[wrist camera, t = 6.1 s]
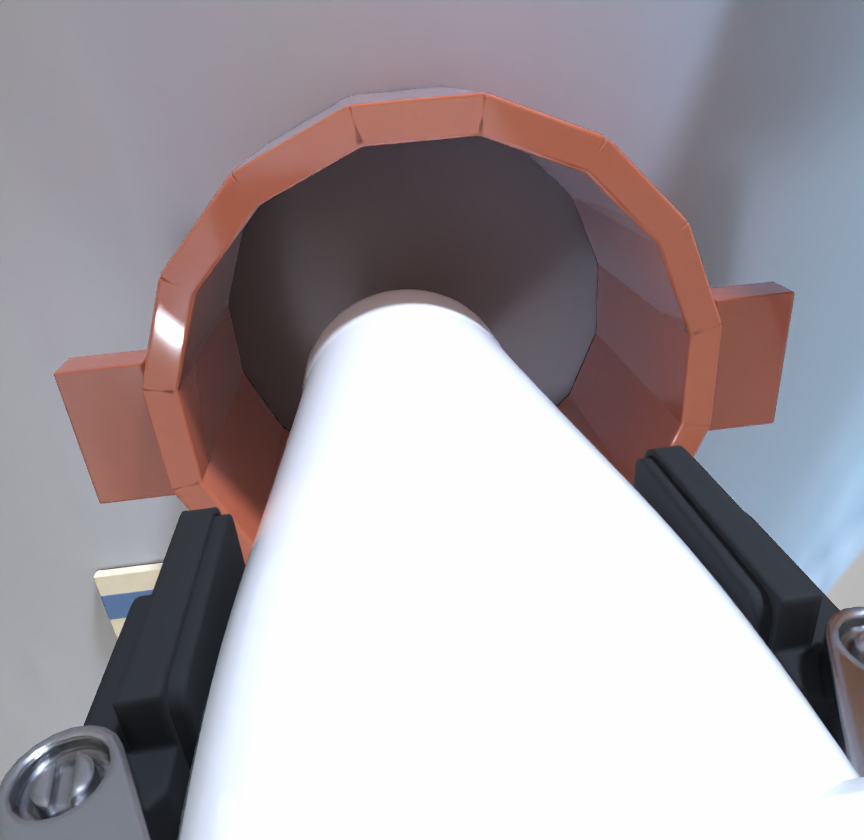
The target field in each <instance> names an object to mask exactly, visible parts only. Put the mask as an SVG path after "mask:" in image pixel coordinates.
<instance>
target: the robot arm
mask: <svg viewBox="0 0 864 840" xmlns="http://www.w3.org/2000/svg"><path fill="white" fill-rule="evenodd" d="M634 488H635V489H636V490H637V491H638V492H639V493H640V494H641V495H642V496H643V497H644V499H645V500H646V501H647V502H648V503H649V504H650V505H651V506H652V507H653V508H654V509H655V510H656V511H657V512H658V514H659V515H660V516H661V517H662V518H663V519H664V520H665V521H666V522H667V523H668V524H669V525H670V526H671V528H672V529H673V530H674V531H675V532H676V533H677V534H678V536H679V537H680V538H681V539H682V540H683V541H684V542H685V544H686V545H687V546H688V547H689V548H690V549H691V550H692V551H693V553H694V554H695V555H696V556H697V557H698V559H699V560H700V561H701V562H702V563H703V565H704V566H705V567H706V568H707V569H708V571H709V572H710V573H711V574H712V575H713V577H714V578H715V579H716V580H717V581H718V583H719V584H720V585H721V586H722V588H723V589H724V590H725V591H726V593H727V594H728V595H729V596H730V598H731V599H732V600H733V602H734V603H735V604H736V605H737V607H738V608H739V609H740V610H741V612H742V613H743V614H744V616H745V617H746V618H747V619H748V621H749V622H750V623H751V625H752V626H753V627H754V629H755V630H756V631H757V633H758V634H759V635H760V637H761V638H762V639H763V641H764V642H765V643H766V645H767V646H768V647H769V649H770V650H771V651H772V653H773V654H774V655H775V657H776V658H777V659H778V661H779V662H780V663H781V665H782V666H783V667H784V669H785V670H786V672H787V673H788V674H789V676H790V677H791V679H792V680H793V681H794V683H795V684H796V685H797V687H798V688H799V690H800V691H801V692H802V694H803V695H804V697H805V698H806V699H807V701H808V702H809V704H810V705H811V706H812V708H813V709H814V711H815V712H816V714H817V715H818V716H819V718H820V719H821V721H822V722H823V724H824V725H825V726H826V728H827V729H828V731H829V732H830V734H831V735H832V736H833V738H834V739H835V741H836V742H837V744H838V745H839V747H840V748H841V749H842V751H843V752H844V754H845V755H846V757H847V758H848V759H849V761H850V762H851V764H852V765H853V767H854V768H855V770H856V771H857V773H858V774H859V776H860V777H861V778H854V779H848V780H844V781H842V782H840V783H839V784H837V785H836V786H834V787H833V788H831V789H829V790H828V791H826V792H825V793H824V794H822V795H821V796H820V797H818V798H817V799H816V802H817V803H818V805H819V807H820V808H821V810H822V812H823V813H824V815H825V817H826V818H827V820H828V821H829V823H830V824H831V825H832V827H833V828H834V830H835V832H836V834H837V837H838V840H864V607H853V608H847V609H843V610H841V611H840V610H839V609H838V608H837V607H836V606H835V605H834V604H833V603H832V602H831V601H830V600H829V599H828V598H827V596H826V595H825V594H824V593H823V592H822V591H821V590H820V589H819V588H818V587H817V586H816V585H815V584H814V583H813V582H812V581H811V579H810V578H809V577H808V576H807V575H806V574H805V573H804V572H803V571H802V570H801V569H800V568H799V567H798V566H797V565H796V564H795V563H794V561H793V560H792V559H791V558H790V557H789V556H788V555H787V554H786V553H785V552H784V551H783V550H782V549H781V548H780V547H779V546H778V545H777V543H776V542H775V541H774V540H773V539H772V538H771V537H770V536H769V535H768V534H767V533H766V532H765V531H764V530H763V529H762V528H761V527H760V525H759V524H758V523H757V522H756V521H755V520H754V519H753V518H752V517H751V516H749V515H748V514H747V513H745V512H744V511H743V510H742V509H741V508H740V507H739V506H738V505H737V504H736V502H735V501H734V500H733V499H732V498H731V497H730V496H729V495H728V494H727V493H726V492H725V491H724V490H723V489H722V488H721V487H720V485H719V484H718V483H717V482H716V481H715V480H714V479H713V478H712V477H711V476H710V475H709V474H708V473H707V472H706V471H705V469H704V468H703V467H702V466H701V465H700V464H699V463H698V462H697V461H696V460H695V459H694V458H693V457H692V456H691V455H690V453H689V452H688V451H687V450H686V449H685V448H684V447H682V446H680V445H677V446H669V447H662V448H654V449H648V450H647V451H646V453H645V455H644V458H641V459H638V460H637V461H636V464H635V475H634ZM244 569H245V562H244V558H243V554H242V551H241V547H240V543H239V539H238V535H237V531H236V527H235V523H234V520H233V517H232V515H231V514H224V515H221V512H220V510H219V508H217V507H212V508H205V509H198V510H190V511H184V512H182V513H181V515H180V517H179V520H178V523H177V526H176V528H175V531H174V534H173V537H172V539H171V542H170V545H169V548H168V550H167V553H166V556H165V559H164V561H163V564H162V567H161V570H160V572H159V575H158V578H157V581H156V583H155V586H154V589H153V592H152V594H151V595H144V596H139V597H137V598H136V599H135V600H134V601H133V603H132V605H131V607H130V609H129V612H128V614H127V617H126V619H125V622H124V625H123V627H122V630H121V632H120V635H119V637H118V640H117V642H116V645H115V647H114V650H113V652H112V655H111V657H110V660H109V663H108V665H107V668H106V670H105V673H104V675H103V678H102V680H101V683H100V685H99V688H98V690H97V693H96V695H95V698H94V701H93V703H92V706H91V708H90V711H89V713H88V716H87V718H86V721H85V723H84V726H80V727H73V728H70V729H67V730H65V731H62V732H59V733H56V734H54V735H52V736H50V737H49V738H47V739H45V740H43V741H42V742H40V743H38V744H37V745H35V746H34V747H33V748H31V749H30V750H29V751H28V752H27V753H25V754H24V755H23V756H22V757H21V758H19V759H18V760H17V762H16V763H15V764H14V765H13V767H12V768H11V769H10V770H9V771H8V773H7V774H6V775H5V777H4V779H3V781H2V783H1V785H0V840H177V837H178V831H179V826H180V821H181V815H182V810H183V804H184V800H185V795H186V790H187V785H188V780H189V775H190V770H191V765H192V760H193V756H194V751H195V747H196V742H197V738H198V734H199V729H200V725H201V720H202V716H203V711H204V707H205V704H206V700H207V696H208V692H209V688H210V684H211V680H212V676H213V672H214V668H215V665H216V661H217V658H218V654H219V651H220V647H221V644H222V640H223V637H224V633H225V630H226V627H227V623H228V620H229V617H230V613H231V610H232V607H233V604H234V601H235V598H236V594H237V591H238V588H239V585H240V582H241V579H242V575H243V572H244Z"/></svg>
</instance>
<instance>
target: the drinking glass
mask: <svg viewBox="0 0 864 840" xmlns="http://www.w3.org/2000/svg"><path fill="white" fill-rule="evenodd" d="M854 778H861V777H860V776H859V774H858V773H857V771H856V770H855V768H854V767H853V765H852V764H851V762H850V761H849V759H848V758H847V757H846V755H845V754H844V752H843V751H842V749H841V748H840V747H839V745H838V744H837V742H836V741H835V739H834V738H833V736H832V735H831V734H830V732H829V731H828V729H827V728H826V726H825V725H824V724H823V722H822V721H821V719H820V718H819V716H818V715H817V714H816V712H815V711H814V709H813V708H812V706H811V705H810V704H809V702H808V701H807V699H806V698H805V697H804V695H803V694H802V692H801V691H800V690H799V688H798V687H797V685H796V684H795V683H794V681H793V680H792V679H791V677H790V676H789V674H788V673H787V672H786V670H785V669H784V667H783V666H782V665H781V663H780V662H779V661H778V659H777V658H776V657H775V655H774V654H773V653H772V651H771V650H770V649H769V647H768V646H767V645H766V643H765V642H764V641H763V639H762V638H761V637H760V635H759V634H758V633H757V631H756V630H755V629H754V627H753V626H752V625H751V623H750V622H749V621H748V619H747V618H746V617H745V616H744V614H743V613H742V612H741V610H740V609H739V608H738V607H737V605H736V604H735V603H734V602H733V600H732V599H731V598H730V596H729V595H728V594H727V593H726V591H725V590H724V589H723V588H722V586H721V585H720V584H719V583H718V581H717V580H716V579H715V578H714V577H713V575H712V574H711V573H710V572H709V571H708V569H707V568H706V567H705V566H704V565H703V563H702V562H701V561H700V560H699V559H698V557H697V556H696V555H695V554H694V553H693V551H692V550H691V549H690V548H689V547H688V546H687V545H686V544H685V542H684V541H683V540H682V539H681V538H680V537H679V536H678V534H677V533H676V532H675V531H674V530H673V529H672V528H671V526H670V525H669V524H668V523H667V522H666V521H665V520H664V519H663V518H662V517H661V516H660V515H659V514H658V512H657V511H656V510H655V509H654V508H653V507H652V506H651V505H650V504H649V503H648V502H647V501H646V500H645V499H644V497H643V496H642V495H641V494H640V493H639V492H638V491H637V490H636V489H635V488H634V487H633V486H632V485H631V484H630V482H629V481H628V480H627V479H626V478H625V477H624V476H623V475H622V474H621V473H620V472H619V471H618V470H617V469H616V468H615V467H614V466H613V465H612V464H611V463H610V462H609V461H608V460H607V458H606V457H605V456H604V455H603V454H602V453H601V452H600V451H599V450H598V449H597V448H596V447H595V446H594V445H593V444H592V443H591V442H590V441H589V440H588V439H587V438H586V437H585V436H584V435H583V434H582V433H581V431H580V430H579V429H578V428H577V427H576V426H575V425H574V424H573V423H572V422H571V421H570V420H569V419H568V418H567V417H566V416H565V415H564V414H563V413H562V412H561V411H560V410H559V409H558V408H557V407H556V405H555V404H554V403H553V402H552V401H551V400H550V399H549V398H548V397H547V396H546V395H545V394H544V393H543V392H542V391H541V390H540V389H539V388H538V387H537V385H536V384H535V383H534V382H533V381H532V380H531V379H530V378H529V377H528V376H527V375H526V374H525V373H524V372H523V371H522V370H521V368H520V367H519V366H518V365H517V364H516V363H515V362H514V361H513V360H512V359H511V358H510V356H509V355H508V354H507V353H506V352H505V351H504V350H503V349H502V347H501V345H500V344H499V342H498V341H497V339H496V337H495V336H494V334H493V333H492V332H491V330H490V329H489V328H488V326H487V325H486V324H485V323H484V322H483V321H482V320H481V319H480V318H479V317H478V316H477V315H476V314H475V313H474V312H473V311H471V310H470V309H469V308H467V307H466V306H464V305H463V304H461V303H459V302H457V301H456V300H454V299H451V298H449V297H447V296H444V295H441V294H438V293H434V292H430V291H425V290H416V289H401V290H392V291H386V292H382V293H378V294H374V295H372V296H369V297H367V298H364V299H362V300H360V301H358V302H356V303H354V304H353V305H351V306H349V307H348V308H346V309H345V310H344V311H342V312H341V313H340V314H339V315H337V316H336V317H335V318H334V319H333V320H332V321H331V322H330V323H329V324H328V326H327V327H326V328H325V329H324V330H323V332H322V333H321V335H320V336H319V338H318V339H317V341H316V343H315V345H314V346H313V349H312V351H311V353H310V356H309V358H308V362H307V365H306V369H305V374H304V380H303V389H302V396H301V399H300V403H299V406H298V409H297V412H296V415H295V418H294V422H293V425H292V428H291V431H290V434H289V437H288V440H287V443H286V446H285V449H284V453H283V456H282V459H281V462H280V465H279V468H278V471H277V474H276V477H275V480H274V483H273V486H272V489H271V492H270V495H269V498H268V501H267V504H266V507H265V510H264V513H263V516H262V519H261V522H260V525H259V528H258V531H257V534H256V536H255V539H254V542H253V545H252V548H251V551H250V554H249V557H248V560H247V563H246V566H245V569H244V572H243V575H242V579H241V582H240V585H239V588H238V591H237V594H236V598H235V601H234V604H233V607H232V610H231V613H230V617H229V620H228V623H227V627H226V630H225V633H224V637H223V640H222V644H221V647H220V651H219V654H218V658H217V661H216V665H215V668H214V672H213V676H212V680H211V684H210V688H209V692H208V696H207V700H206V704H205V707H204V711H203V716H202V720H201V725H200V729H199V734H198V738H197V742H196V747H195V751H194V756H193V760H192V765H191V770H190V775H189V780H188V785H187V790H186V795H185V800H184V804H183V810H182V815H181V821H180V826H179V831H178V837H177V840H838V837H837V834H836V832H835V830H834V828H833V827H832V825H831V824H830V823H829V821H828V820H827V818H826V817H825V815H824V813H823V812H822V810H821V808H820V807H819V805H818V803H817V802H816V799H817V798H818V797H820V796H821V795H822V794H824V793H825V792H826V791H828V790H829V789H831V788H833V787H834V786H836V785H837V784H839V783H840V782H842V781H844V780H848V779H854Z"/></svg>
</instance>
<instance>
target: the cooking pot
mask: <svg viewBox="0 0 864 840" xmlns="http://www.w3.org/2000/svg"><path fill="white" fill-rule="evenodd" d="M473 136H480V137H483V138H486V139H489V140H492V141H495V142H498V143H501V144H503V145H506V146H509V147H512V148H515V149H518V150H521V151H524V152H526V153H527V154H528V155H529V156H530V157H531V158H532V159H533V160H534V161H535V162H537V163H538V164H539V165H540V166H541V167H542V168H543V169H544V170H545V171H546V172H547V173H548V174H549V175H550V176H551V177H552V178H553V179H554V180H555V181H556V182H557V183H558V184H559V185H560V186H561V187H562V188H563V189H564V190H566V191H567V192H568V193H569V194H570V195H571V196H572V198H573V201H574V203H575V206H576V208H577V211H578V213H579V216H580V218H581V221H582V223H583V226H584V229H585V231H586V234H587V236H588V239H589V241H590V244H591V246H592V249H593V251H594V254H595V256H596V259H597V261H598V293H597V327H596V335H595V337H594V339H593V341H592V344H591V346H590V348H589V351H588V353H587V355H586V357H585V360H584V362H583V364H582V367H581V369H580V371H579V373H578V376H577V378H576V380H575V383H574V385H573V387H572V389H571V392H570V394H569V395H568V396H567V397H566V398H565V399H564V400H563V401H562V402H561V403H560V404H559V405H558V406H557V408H558V409H559V410H560V411H561V412H562V413H563V414H564V415H565V416H566V417H567V418H568V419H569V420H570V421H571V422H572V423H573V424H574V425H575V426H576V427H577V428H578V429H579V430H580V431H581V433H582V434H583V435H584V436H585V437H586V438H587V439H588V440H589V441H590V442H591V443H592V444H593V445H594V446H595V447H596V448H597V449H598V450H599V451H600V452H601V453H602V454H603V455H604V456H605V457H606V458H607V460H608V461H609V462H610V463H611V464H612V465H613V466H614V467H615V468H616V469H617V470H618V471H619V472H620V473H621V474H622V475H623V476H624V477H625V478H626V479H627V480H628V481H629V482H630V484H631V485H632V486H633V487H634V475H635V464H636V461H637V460H638V459H641V458H644V455H645V453H646V451H647V450H648V449H654V448H662V447H669V446H677V445H680V446H682V447H684V448H685V449H686V450H687V451H688V452H689V453H690V455H691V456H692V457H694V455H695V453H696V451H697V450H698V448H699V446H700V444H701V442H702V440H703V438H704V437H705V435H706V433H707V431H710V430H718V429H726V428H735V427H743V426H751V425H760V424H768V423H773V422H774V416H775V410H776V404H777V398H778V392H779V386H780V380H781V373H782V367H783V361H784V355H785V349H786V343H787V337H788V331H789V324H790V318H791V312H792V306H793V300H794V292H793V291H791V290H789V289H787V288H785V287H783V286H781V285H779V284H777V283H775V282H765V283H756V284H746V285H737V286H728V287H719V288H710V286H709V282H708V279H707V276H706V273H705V270H704V267H703V264H702V261H701V258H700V254H699V251H698V248H697V245H696V242H695V239H694V236H693V233H692V230H691V227H690V224H689V223H688V222H687V220H686V218H685V217H684V216H683V215H682V214H681V213H680V212H679V211H678V210H677V209H676V208H675V207H674V206H673V204H672V203H671V202H670V201H669V200H668V199H667V198H666V197H665V196H664V195H663V194H662V193H661V192H660V191H659V190H658V189H657V188H656V187H655V186H654V185H653V184H652V183H651V182H650V181H649V180H648V179H647V178H646V176H645V175H644V174H643V173H642V172H641V171H640V170H639V169H638V168H637V167H636V166H635V165H634V164H633V163H632V162H631V161H630V160H629V159H628V158H627V157H626V156H625V155H624V154H623V153H622V152H621V151H620V149H619V148H618V147H617V146H616V145H615V144H614V143H613V142H612V141H611V140H610V139H608V138H605V137H604V136H603V135H602V134H600V133H597V132H594V131H592V130H589V129H586V128H583V127H581V126H578V125H575V124H572V123H569V122H567V121H564V120H561V119H558V118H556V117H553V116H550V115H547V114H545V113H542V112H539V111H536V110H534V109H531V108H528V107H525V106H523V105H520V104H517V103H514V102H512V101H509V100H506V99H503V98H501V97H498V96H495V95H492V94H490V93H484V92H477V91H470V90H463V89H456V88H449V87H433V88H422V89H411V90H401V91H390V92H379V93H368V94H357V95H352V96H348V97H346V98H345V99H343V100H341V101H339V102H338V103H336V104H334V105H333V106H331V107H329V108H327V109H326V110H324V111H322V112H321V113H319V114H317V115H315V116H314V117H312V118H310V119H309V120H307V121H305V122H303V123H302V124H300V125H298V126H296V127H295V128H293V129H291V130H290V131H288V132H286V133H284V134H283V135H281V136H279V137H278V138H276V139H274V140H272V141H271V142H269V143H268V144H267V145H266V146H264V147H263V148H262V149H260V150H259V151H258V152H257V153H255V154H254V155H253V156H251V157H250V158H249V159H248V160H246V161H245V162H244V163H243V164H241V165H240V166H239V167H237V168H236V169H235V170H234V171H232V173H231V174H230V175H229V176H228V177H227V178H226V180H225V181H224V183H223V184H222V186H221V187H220V188H219V190H218V191H217V193H216V194H215V196H214V197H213V199H212V200H211V201H210V203H209V204H208V206H207V207H206V209H205V210H204V212H203V213H202V214H201V216H200V217H199V219H198V220H197V222H196V223H195V225H194V226H193V227H192V229H191V230H190V232H189V233H188V235H187V236H186V238H185V239H184V240H183V242H182V243H181V245H180V246H179V248H178V249H177V251H176V252H175V253H174V255H173V256H172V258H171V259H170V261H169V262H168V264H167V265H166V266H165V268H164V269H163V271H162V272H161V275H160V276H161V277H160V278H159V280H158V285H157V291H156V298H155V304H154V311H153V317H152V324H151V330H150V336H149V343H148V349H147V350H140V351H130V352H121V353H112V354H103V355H94V356H85V357H75V358H69V359H68V360H67V361H66V362H65V363H64V364H63V365H62V366H61V367H60V368H59V369H58V370H57V371H56V372H55V373H54V377H55V380H56V382H57V385H58V388H59V391H60V393H61V396H62V399H63V402H64V405H65V407H66V410H67V413H68V416H69V419H70V421H71V424H72V427H73V430H74V432H75V435H76V438H77V441H78V444H79V446H80V449H81V452H82V455H83V458H84V460H85V463H86V466H87V469H88V472H89V474H90V477H91V480H92V483H93V485H94V488H95V491H96V494H97V497H98V499H99V502H100V503H101V504H102V503H111V502H119V501H127V500H136V499H144V498H152V497H161V496H169V495H177V497H178V498H179V499H180V500H181V501H182V502H183V504H184V505H185V506H186V507H187V508H188V510H189V511H190V510H198V509H205V508H212V507H217V508H219V510H220V512H221V515H224V514H231V515H232V517H233V520H234V523H235V527H236V531H237V535H238V539H239V543H240V547H241V551H242V554H243V558H244V562H245V566H246V563H247V560H248V557H249V554H250V551H251V548H252V545H253V542H254V539H255V536H256V534H257V531H258V528H259V525H260V522H261V519H262V516H263V513H264V510H265V507H266V504H267V501H268V498H269V495H270V492H271V489H272V486H273V483H274V480H275V477H276V474H277V471H278V468H279V465H280V462H281V459H282V456H283V453H284V449H285V446H286V443H287V440H288V437H289V434H290V432H289V431H288V430H286V429H284V428H283V427H282V426H281V425H280V423H279V422H278V420H277V419H276V418H275V416H274V415H273V413H272V412H271V411H270V409H269V408H268V406H267V405H266V404H265V402H264V401H263V399H262V398H261V397H260V395H259V394H258V392H257V391H256V390H255V388H254V387H253V385H252V384H251V383H250V381H249V380H248V378H247V377H246V376H245V374H244V373H243V368H242V364H241V359H240V355H239V350H238V346H237V341H236V337H235V332H234V328H233V323H232V319H231V314H230V310H229V305H228V301H229V296H230V291H231V286H232V281H233V276H234V271H235V266H236V261H237V256H238V251H239V246H240V241H241V236H242V231H243V229H244V227H245V226H246V225H247V223H248V222H249V220H250V219H251V218H252V216H253V215H254V214H255V212H256V211H257V209H258V208H259V207H260V205H261V204H263V203H264V202H266V201H268V200H270V199H271V198H273V197H275V196H277V195H278V194H280V193H282V192H284V191H285V190H287V189H289V188H291V187H292V186H294V185H296V184H298V183H299V182H301V181H303V180H305V179H306V178H308V177H310V176H312V175H314V174H315V173H317V172H319V171H321V170H322V169H324V168H326V167H328V166H329V165H331V164H333V163H335V162H336V161H338V160H340V159H342V158H343V157H345V156H347V155H349V154H350V153H352V152H354V151H356V150H357V149H359V148H361V147H369V146H379V145H390V144H400V143H411V142H421V141H432V140H442V139H452V138H463V137H473Z"/></svg>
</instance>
